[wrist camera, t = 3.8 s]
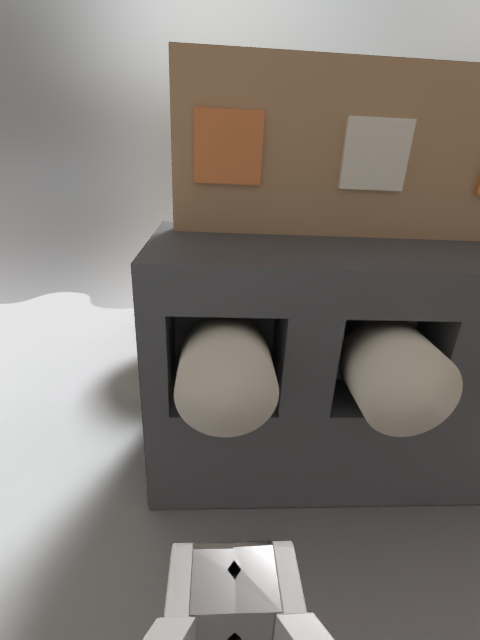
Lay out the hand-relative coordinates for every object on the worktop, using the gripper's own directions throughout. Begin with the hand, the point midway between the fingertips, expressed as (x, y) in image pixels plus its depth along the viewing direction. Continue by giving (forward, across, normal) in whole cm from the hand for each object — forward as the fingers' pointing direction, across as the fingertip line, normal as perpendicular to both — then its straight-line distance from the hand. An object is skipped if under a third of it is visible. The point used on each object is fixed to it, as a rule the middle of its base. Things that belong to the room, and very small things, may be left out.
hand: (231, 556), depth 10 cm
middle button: (+9, -8, +2) cm, 12 cm away
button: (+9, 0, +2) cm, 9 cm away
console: (+14, -8, +9) cm, 18 cm away
